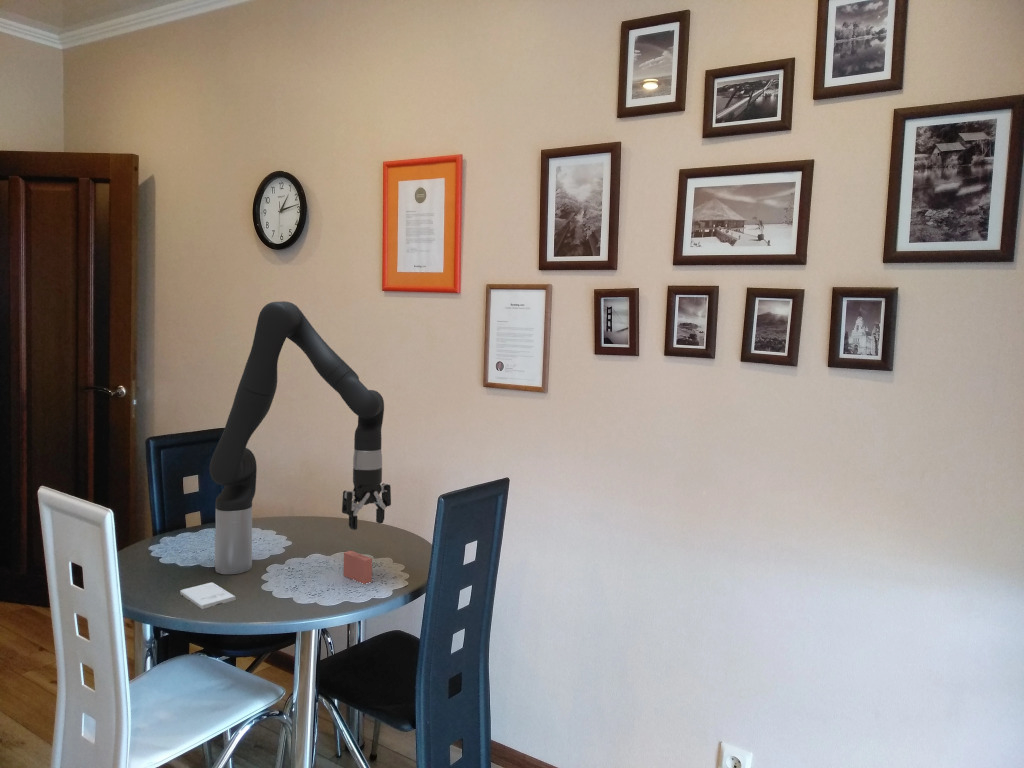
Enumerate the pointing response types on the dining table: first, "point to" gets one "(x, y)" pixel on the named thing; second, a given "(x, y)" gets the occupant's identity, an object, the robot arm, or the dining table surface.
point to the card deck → (357, 567)
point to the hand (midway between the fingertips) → (366, 525)
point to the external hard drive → (207, 595)
